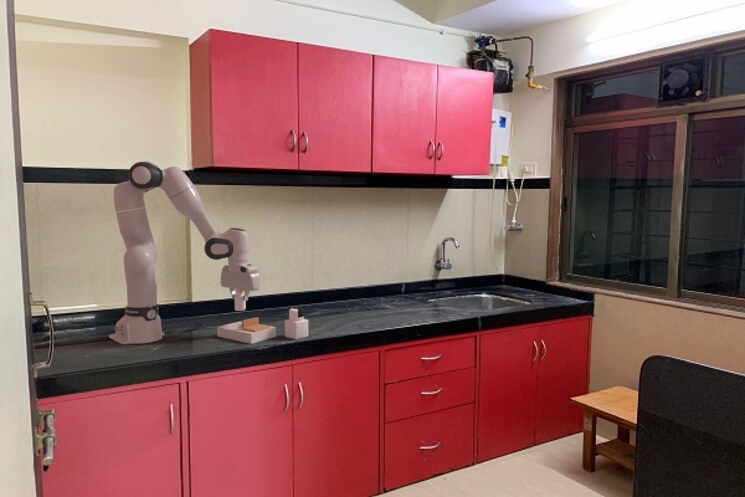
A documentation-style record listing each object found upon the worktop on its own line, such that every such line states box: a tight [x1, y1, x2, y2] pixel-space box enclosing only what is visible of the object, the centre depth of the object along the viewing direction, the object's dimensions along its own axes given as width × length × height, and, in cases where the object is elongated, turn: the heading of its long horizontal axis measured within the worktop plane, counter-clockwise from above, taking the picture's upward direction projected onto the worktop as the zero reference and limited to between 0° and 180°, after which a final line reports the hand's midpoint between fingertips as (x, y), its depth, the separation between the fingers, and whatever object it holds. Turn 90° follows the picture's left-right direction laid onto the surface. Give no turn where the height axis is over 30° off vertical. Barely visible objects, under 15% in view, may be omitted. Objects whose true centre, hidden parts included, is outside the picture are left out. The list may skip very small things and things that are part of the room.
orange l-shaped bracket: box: [241, 316, 271, 332], centre depth 228 cm, size 8×8×4 cm
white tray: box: [216, 320, 277, 344], centre depth 232 cm, size 20×14×4 cm
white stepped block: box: [284, 307, 309, 340], centre depth 232 cm, size 7×7×12 cm
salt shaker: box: [234, 289, 247, 312], centre depth 233 cm, size 4×4×10 cm
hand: (239, 299), depth 233 cm, fingers closed on salt shaker, 5 cm apart
